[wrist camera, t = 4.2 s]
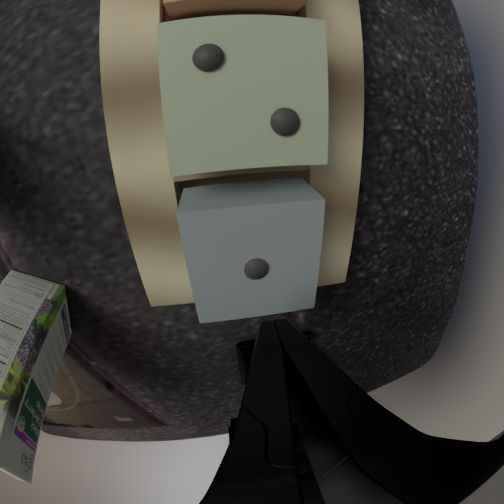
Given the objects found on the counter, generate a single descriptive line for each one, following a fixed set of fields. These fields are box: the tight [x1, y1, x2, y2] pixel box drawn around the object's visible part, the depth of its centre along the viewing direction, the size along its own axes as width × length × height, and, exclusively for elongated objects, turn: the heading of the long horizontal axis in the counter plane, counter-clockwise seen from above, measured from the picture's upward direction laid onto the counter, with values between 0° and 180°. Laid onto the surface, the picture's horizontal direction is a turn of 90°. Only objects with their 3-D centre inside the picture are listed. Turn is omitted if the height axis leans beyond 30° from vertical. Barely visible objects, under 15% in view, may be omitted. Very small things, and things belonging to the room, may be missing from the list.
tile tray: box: [100, 0, 364, 307], centre depth 11 cm, size 22×12×2 cm, turn 2°
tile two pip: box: [157, 15, 329, 177], centre depth 9 cm, size 6×6×3 cm
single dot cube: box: [177, 178, 325, 323], centre depth 13 cm, size 6×6×3 cm
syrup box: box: [0, 270, 72, 483], centre depth 11 cm, size 6×6×14 cm
